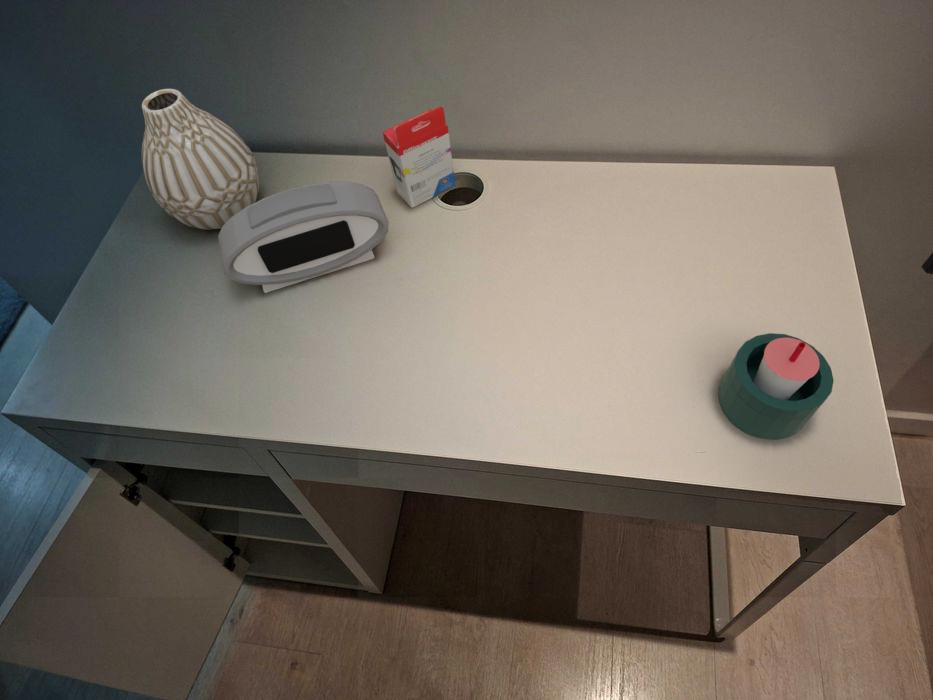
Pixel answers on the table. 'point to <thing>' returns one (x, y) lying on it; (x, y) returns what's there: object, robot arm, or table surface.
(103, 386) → the table surface
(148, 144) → the vase
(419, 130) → the ink box
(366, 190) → the alarm clock
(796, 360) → the cup
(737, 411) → the teal pot
